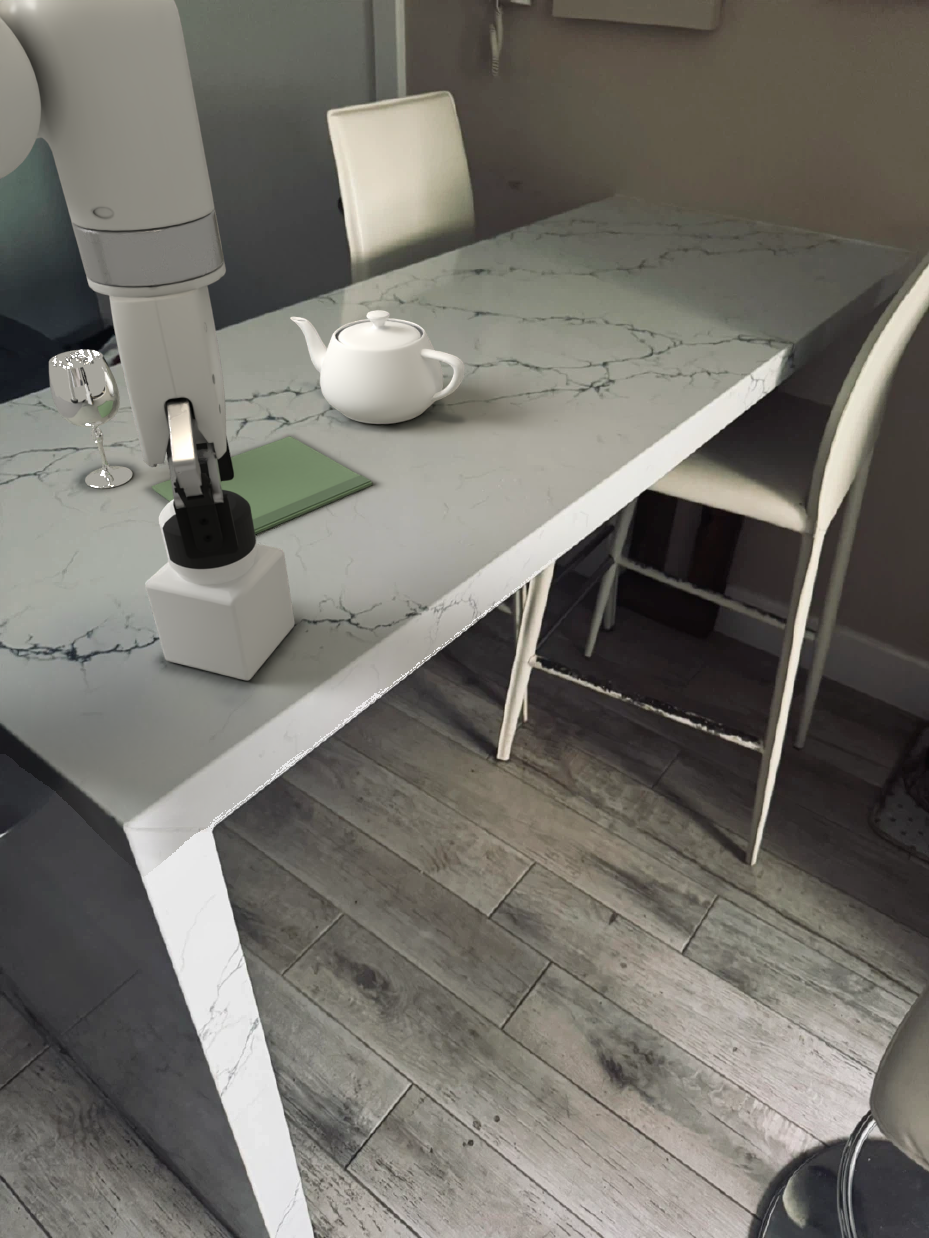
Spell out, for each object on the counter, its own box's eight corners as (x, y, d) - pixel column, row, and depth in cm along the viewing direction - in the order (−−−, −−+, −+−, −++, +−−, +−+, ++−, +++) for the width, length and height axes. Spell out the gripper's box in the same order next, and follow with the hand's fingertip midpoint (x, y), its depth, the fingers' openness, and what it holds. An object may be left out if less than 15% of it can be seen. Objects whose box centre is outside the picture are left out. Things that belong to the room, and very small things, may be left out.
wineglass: (151, 473, 87) (123, 355, 79) (104, 497, 83) (70, 376, 76) (113, 459, 89) (81, 343, 82) (65, 481, 85) (28, 362, 78)
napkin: (228, 545, 76) (228, 542, 76) (152, 488, 84) (151, 485, 84) (372, 484, 85) (372, 481, 85) (290, 438, 93) (289, 435, 93)
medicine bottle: (296, 625, 67) (276, 487, 60) (249, 683, 62) (220, 540, 55) (216, 607, 69) (187, 471, 62) (163, 662, 64) (124, 520, 56)
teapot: (491, 402, 100) (492, 308, 94) (433, 450, 91) (430, 349, 84) (331, 369, 108) (323, 280, 102) (263, 410, 99) (249, 314, 92)
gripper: (96, 217, 54) (160, 463, 65) (61, 306, 41) (149, 597, 52) (219, 208, 56) (262, 451, 66) (224, 291, 42) (277, 578, 53)
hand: (212, 515), depth 59 cm, fingers open, 9 cm apart
